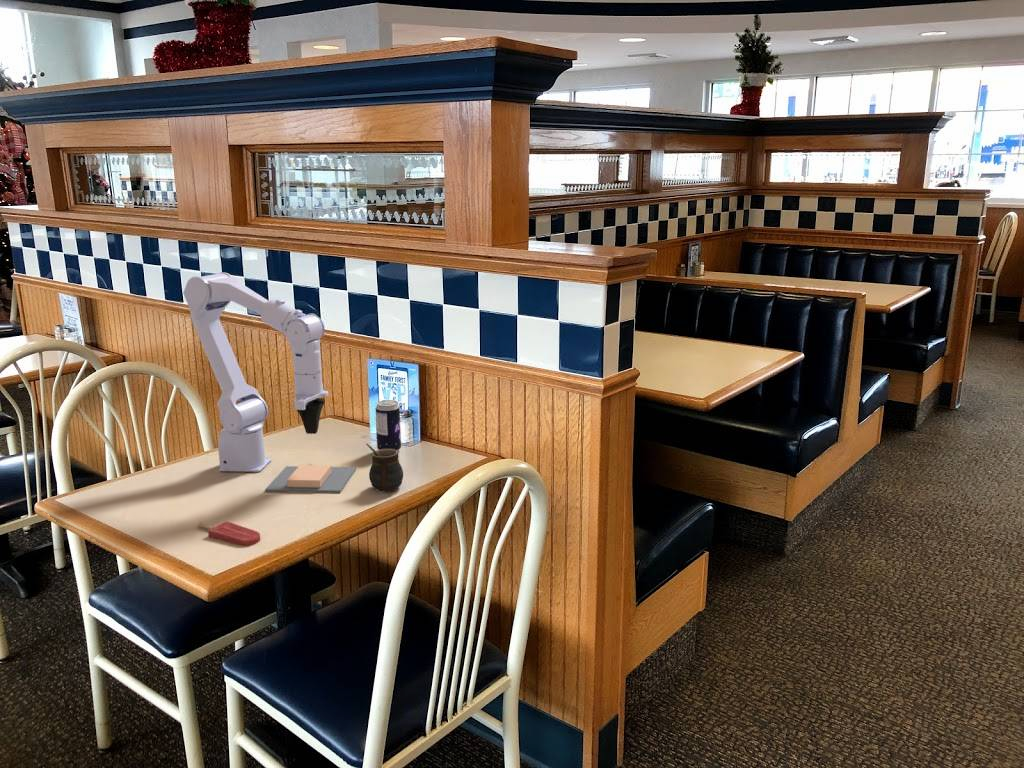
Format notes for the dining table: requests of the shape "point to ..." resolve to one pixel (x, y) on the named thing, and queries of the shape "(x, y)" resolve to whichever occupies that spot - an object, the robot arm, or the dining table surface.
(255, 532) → the popsicle
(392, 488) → the mate gourd
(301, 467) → the tile
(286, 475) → the slate pad
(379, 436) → the beverage can
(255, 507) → the dining table surface
